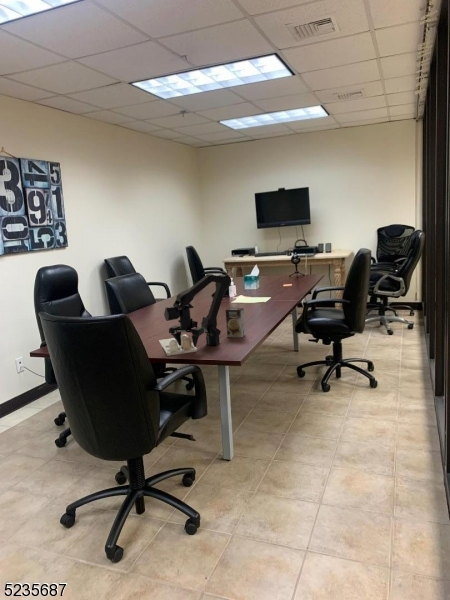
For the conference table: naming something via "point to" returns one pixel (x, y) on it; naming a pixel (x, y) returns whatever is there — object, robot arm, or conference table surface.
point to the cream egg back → (183, 339)
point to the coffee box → (235, 322)
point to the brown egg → (187, 344)
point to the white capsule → (173, 346)
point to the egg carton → (180, 349)
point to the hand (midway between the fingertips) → (187, 346)
